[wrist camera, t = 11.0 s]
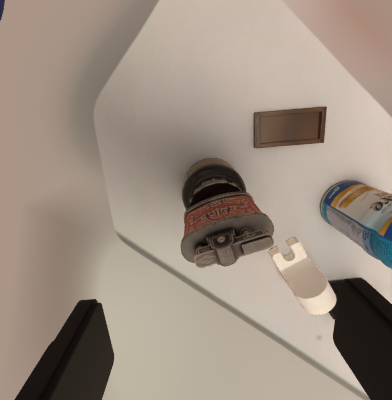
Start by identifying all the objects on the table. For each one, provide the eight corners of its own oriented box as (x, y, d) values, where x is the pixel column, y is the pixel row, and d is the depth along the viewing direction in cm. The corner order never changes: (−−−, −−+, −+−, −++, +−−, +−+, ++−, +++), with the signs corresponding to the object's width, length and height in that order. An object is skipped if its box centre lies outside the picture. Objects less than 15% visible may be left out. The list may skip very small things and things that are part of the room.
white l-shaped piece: (292, 290, 45) (318, 334, 35) (267, 250, 42) (289, 287, 33) (317, 276, 44) (352, 318, 35) (294, 236, 42) (324, 269, 32)
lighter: (189, 233, 28) (187, 288, 18) (179, 207, 27) (172, 252, 18) (255, 212, 27) (289, 258, 18) (248, 185, 26) (279, 218, 17)
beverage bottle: (311, 222, 41) (415, 308, 22) (328, 174, 38) (461, 224, 19) (358, 230, 41) (499, 319, 22) (377, 183, 39) (554, 239, 20)
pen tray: (253, 147, 37) (256, 148, 35) (253, 113, 35) (256, 112, 34) (318, 141, 37) (324, 142, 35) (321, 107, 35) (326, 106, 34)
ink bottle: (171, 178, 38) (161, 201, 27) (215, 143, 37) (225, 152, 25) (207, 222, 41) (212, 260, 29) (250, 191, 39) (274, 219, 28)
